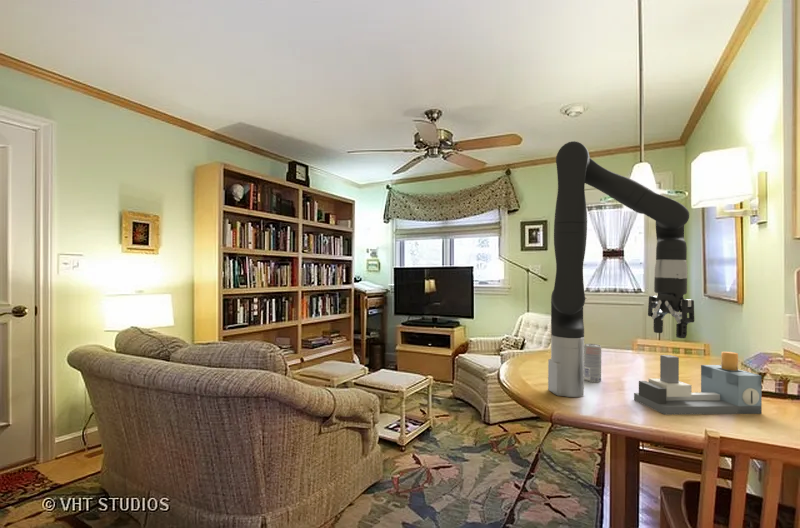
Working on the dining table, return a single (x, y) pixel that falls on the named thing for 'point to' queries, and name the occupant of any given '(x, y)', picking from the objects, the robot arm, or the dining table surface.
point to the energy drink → (592, 362)
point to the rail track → (709, 394)
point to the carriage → (671, 378)
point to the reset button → (729, 360)
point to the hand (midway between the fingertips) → (669, 335)
